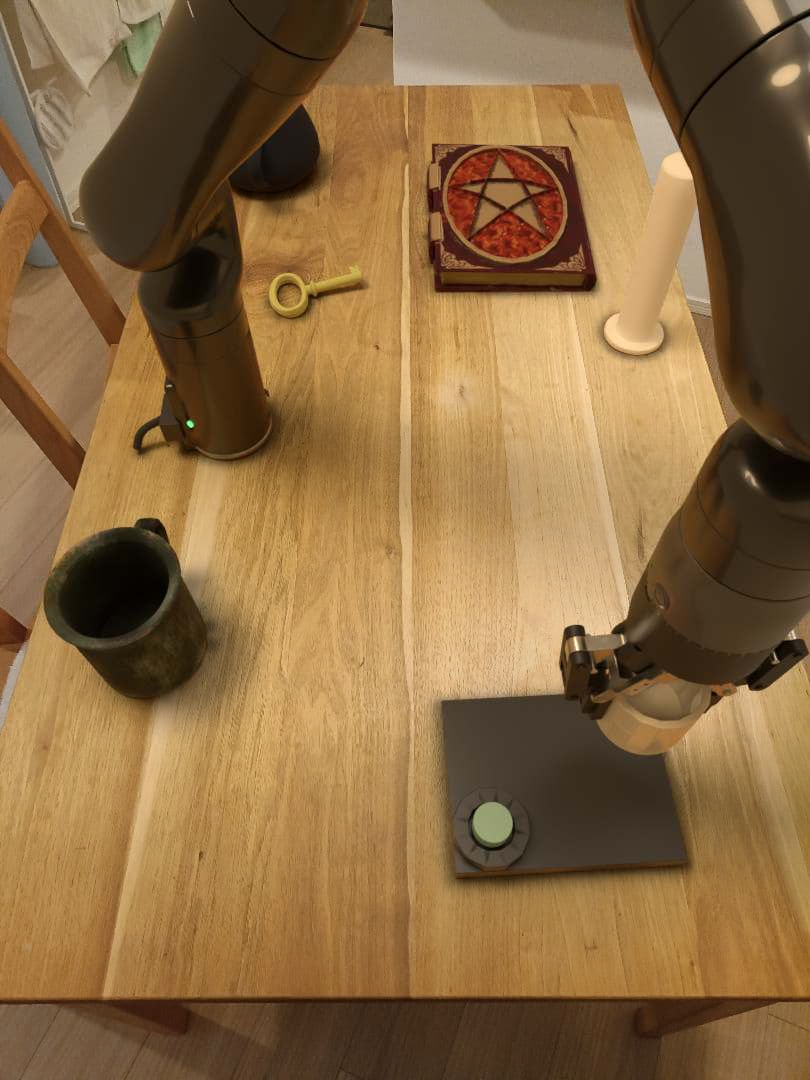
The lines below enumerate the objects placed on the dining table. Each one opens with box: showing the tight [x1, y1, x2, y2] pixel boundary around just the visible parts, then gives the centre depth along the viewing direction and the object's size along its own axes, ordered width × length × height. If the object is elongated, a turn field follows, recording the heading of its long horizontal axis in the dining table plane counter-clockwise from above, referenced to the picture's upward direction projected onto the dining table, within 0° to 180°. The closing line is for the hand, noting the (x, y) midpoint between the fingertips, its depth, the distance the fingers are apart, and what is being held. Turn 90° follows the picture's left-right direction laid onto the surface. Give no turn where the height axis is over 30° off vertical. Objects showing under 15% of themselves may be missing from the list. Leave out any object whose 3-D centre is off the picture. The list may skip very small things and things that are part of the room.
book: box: [426, 143, 598, 292], centre depth 104 cm, size 28×21×5 cm
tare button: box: [472, 802, 513, 848], centre depth 59 cm, size 3×3×2 cm
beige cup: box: [596, 669, 712, 755], centre depth 51 cm, size 6×6×6 cm
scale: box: [440, 693, 688, 879], centre depth 63 cm, size 18×14×4 cm
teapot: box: [228, 102, 321, 194], centre depth 108 cm, size 25×16×12 cm, turn 1°
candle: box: [603, 150, 698, 356], centre depth 83 cm, size 7×7×25 cm
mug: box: [42, 517, 208, 698], centre depth 67 cm, size 11×15×12 cm
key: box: [268, 264, 364, 319], centre depth 98 cm, size 7×12×2 cm, turn 123°
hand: (642, 703), depth 53 cm, fingers closed on beige cup, 6 cm apart
